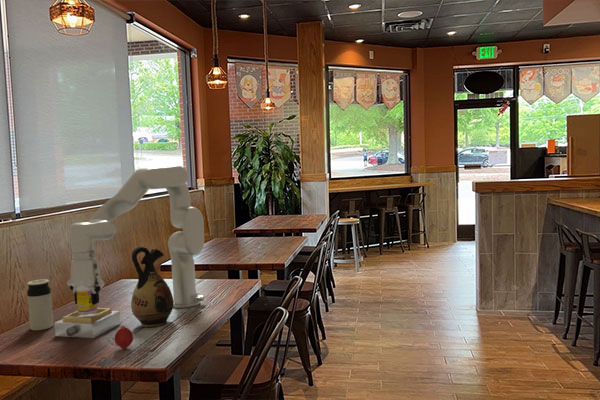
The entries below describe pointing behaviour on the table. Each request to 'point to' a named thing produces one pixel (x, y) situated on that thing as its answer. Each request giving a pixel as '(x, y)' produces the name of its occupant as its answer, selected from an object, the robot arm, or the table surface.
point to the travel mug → (40, 305)
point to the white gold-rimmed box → (87, 323)
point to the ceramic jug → (150, 291)
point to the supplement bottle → (85, 300)
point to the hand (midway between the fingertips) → (87, 302)
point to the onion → (123, 337)
